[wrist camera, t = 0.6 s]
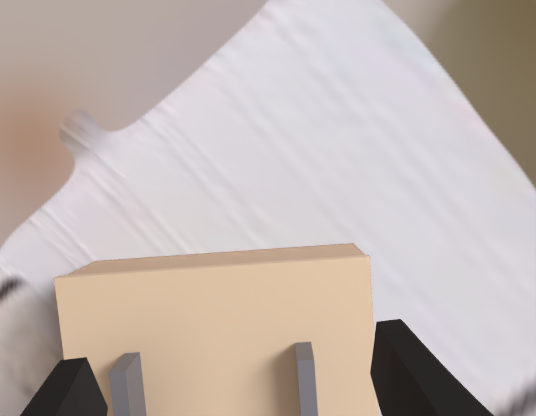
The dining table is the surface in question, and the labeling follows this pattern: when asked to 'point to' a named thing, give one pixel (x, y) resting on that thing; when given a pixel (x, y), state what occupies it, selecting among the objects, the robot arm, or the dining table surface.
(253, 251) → the carton
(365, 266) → the lid panel
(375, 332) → the robot arm
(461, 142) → the dining table surface
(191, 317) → the lid panel
